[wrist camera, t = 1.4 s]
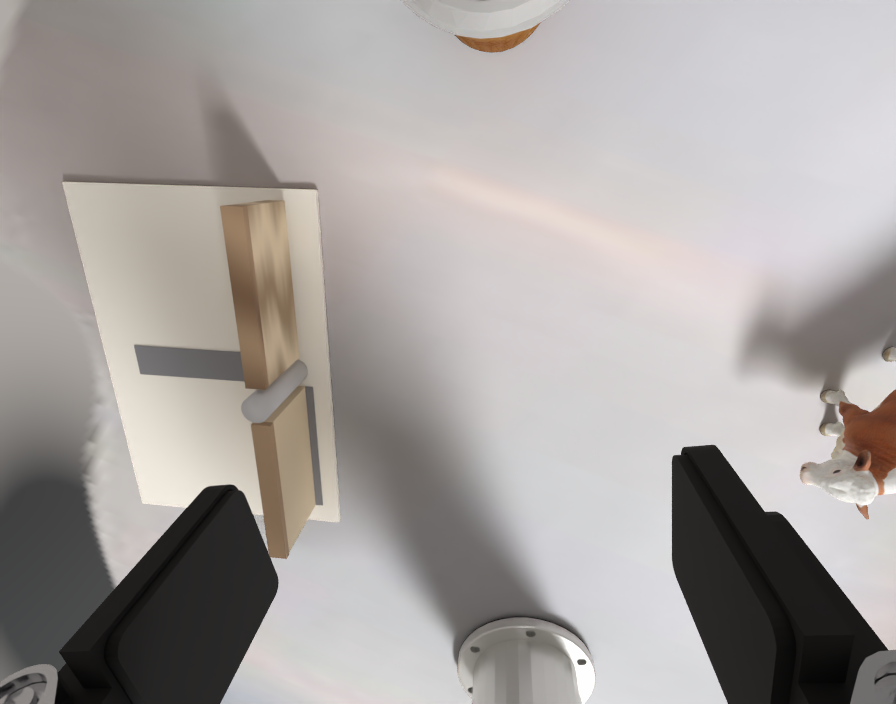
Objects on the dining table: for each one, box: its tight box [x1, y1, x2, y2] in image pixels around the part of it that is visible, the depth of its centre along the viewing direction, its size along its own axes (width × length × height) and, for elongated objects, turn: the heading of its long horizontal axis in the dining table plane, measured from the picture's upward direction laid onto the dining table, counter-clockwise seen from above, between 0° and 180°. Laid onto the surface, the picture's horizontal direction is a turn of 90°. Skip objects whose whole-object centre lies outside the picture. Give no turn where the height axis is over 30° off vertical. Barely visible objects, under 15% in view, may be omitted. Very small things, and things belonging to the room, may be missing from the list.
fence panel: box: [220, 200, 299, 390], centre depth 31 cm, size 11×1×6 cm, turn 179°
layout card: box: [62, 182, 341, 559], centre depth 34 cm, size 27×18×7 cm, turn 179°
